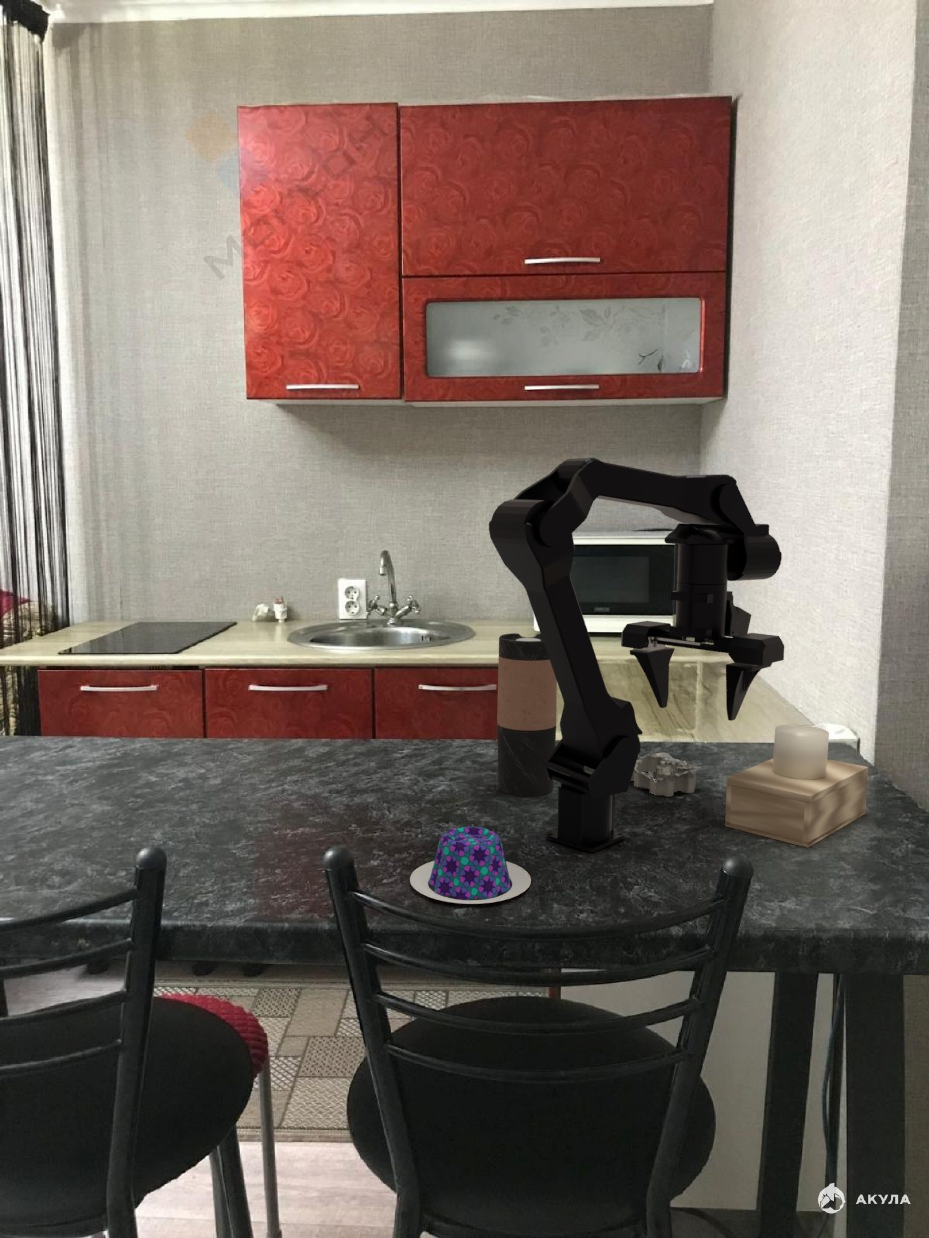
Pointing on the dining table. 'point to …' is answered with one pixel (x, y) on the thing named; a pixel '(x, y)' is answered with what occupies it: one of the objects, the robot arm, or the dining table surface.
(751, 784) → the box lid
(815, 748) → the beige tapered cylinder
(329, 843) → the dining table surface
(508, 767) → the travel mug
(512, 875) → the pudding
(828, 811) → the storage box
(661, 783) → the egg carton
